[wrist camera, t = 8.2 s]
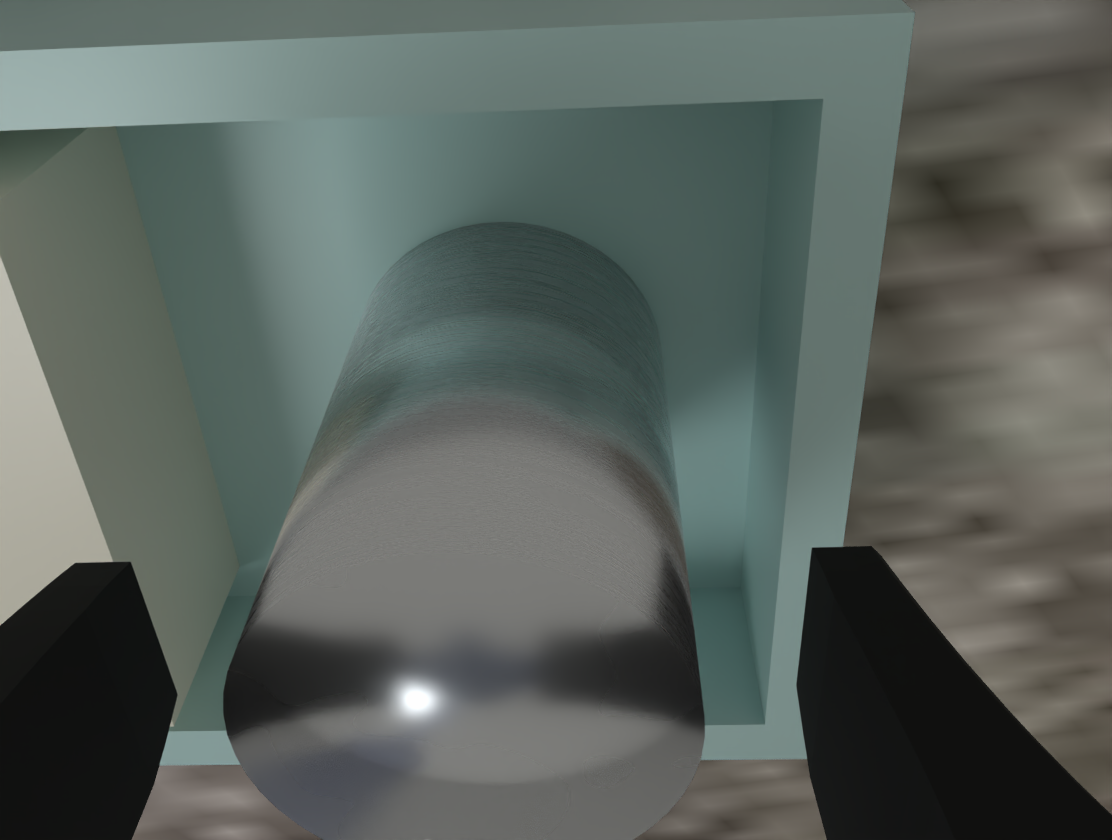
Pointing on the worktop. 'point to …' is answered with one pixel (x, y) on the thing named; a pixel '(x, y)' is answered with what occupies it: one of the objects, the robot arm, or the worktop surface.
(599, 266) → the tin can
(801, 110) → the tote
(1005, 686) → the worktop surface
